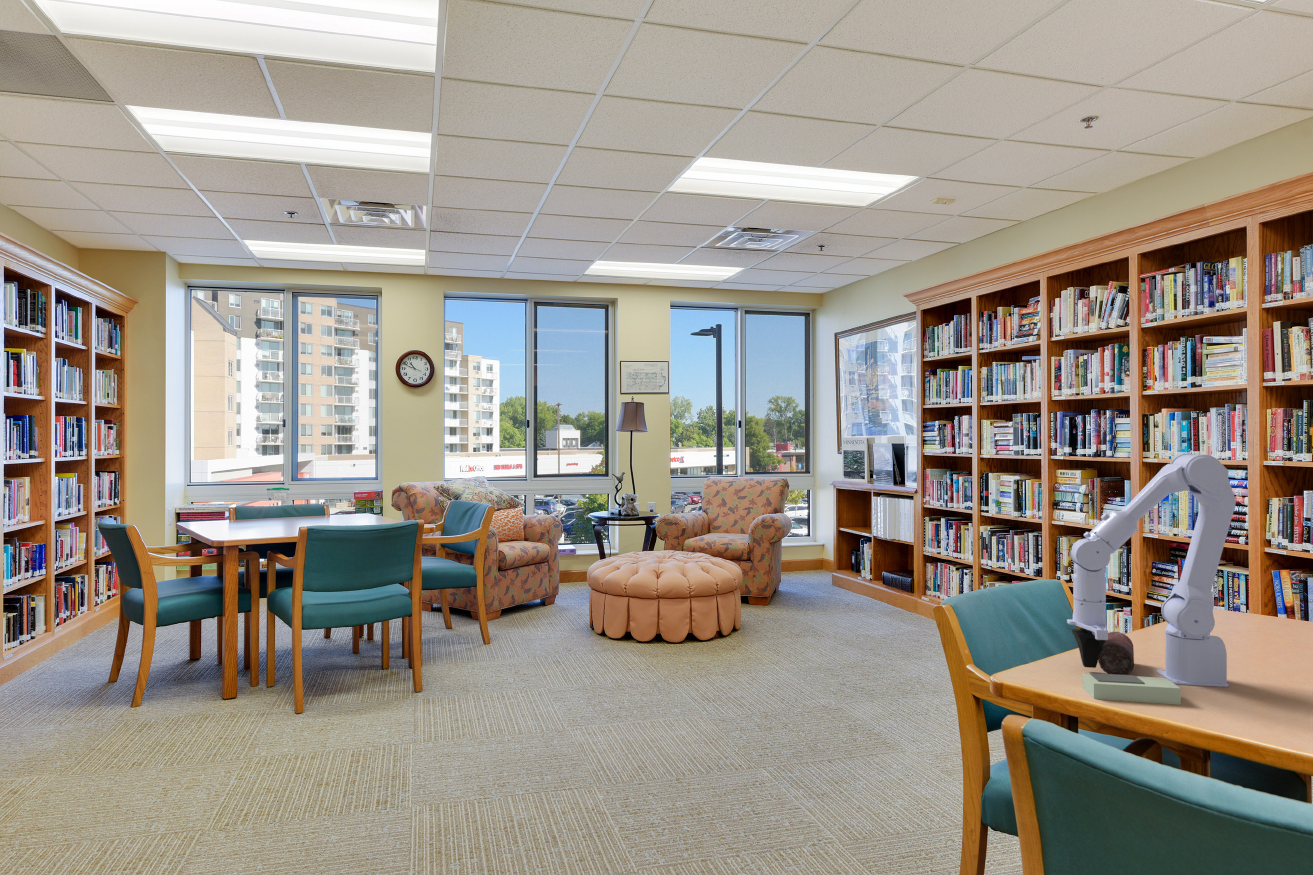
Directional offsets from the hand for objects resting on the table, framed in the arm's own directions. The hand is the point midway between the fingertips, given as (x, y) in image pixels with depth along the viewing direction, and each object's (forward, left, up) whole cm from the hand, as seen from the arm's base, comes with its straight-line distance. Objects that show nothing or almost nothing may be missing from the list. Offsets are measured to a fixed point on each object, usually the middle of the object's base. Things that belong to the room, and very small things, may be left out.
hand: (1089, 666), depth 157 cm
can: (-4, +3, +2) cm, 5 cm away
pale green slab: (-2, +15, -1) cm, 15 cm away
